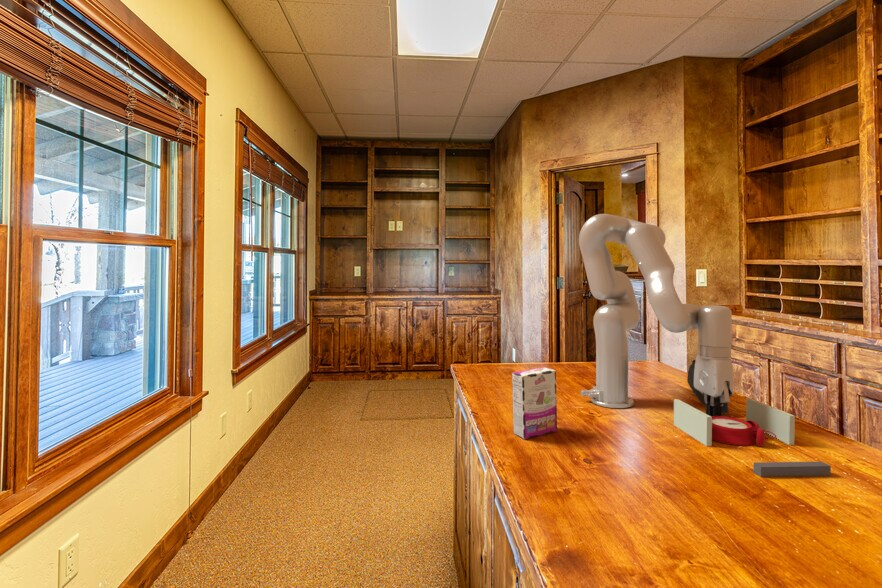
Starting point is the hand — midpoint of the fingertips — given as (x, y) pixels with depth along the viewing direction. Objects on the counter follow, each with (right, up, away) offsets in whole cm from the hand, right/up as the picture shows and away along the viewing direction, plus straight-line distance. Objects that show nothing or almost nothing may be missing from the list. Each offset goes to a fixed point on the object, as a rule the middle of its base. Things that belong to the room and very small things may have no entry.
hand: (713, 419), depth 112 cm
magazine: (+11, -1, +20) cm, 23 cm away
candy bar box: (-49, -3, -3) cm, 49 cm away
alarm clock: (0, -3, -9) cm, 9 cm away
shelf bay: (0, -2, -7) cm, 7 cm away
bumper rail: (-2, -3, -27) cm, 28 cm away
